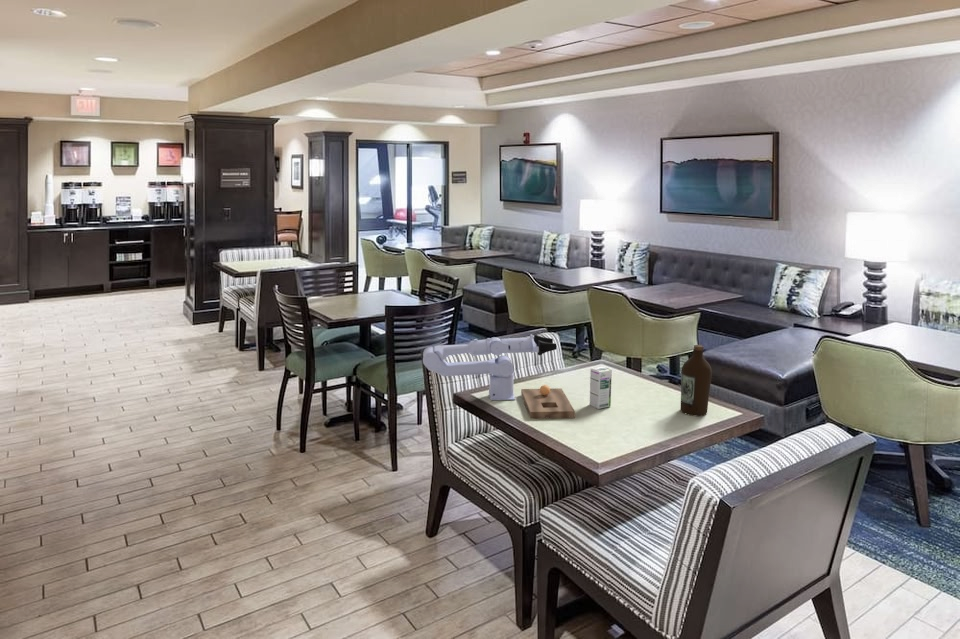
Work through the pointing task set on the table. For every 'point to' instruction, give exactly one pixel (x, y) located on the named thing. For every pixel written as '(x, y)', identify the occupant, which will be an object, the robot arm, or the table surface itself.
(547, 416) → the brown wooden flat board
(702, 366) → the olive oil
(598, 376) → the syrup box
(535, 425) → the table surface
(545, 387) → the ball
